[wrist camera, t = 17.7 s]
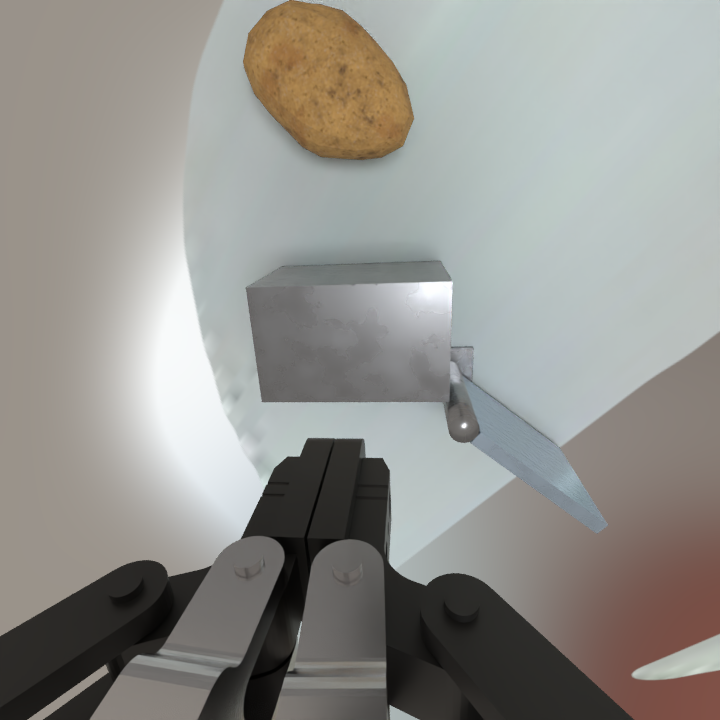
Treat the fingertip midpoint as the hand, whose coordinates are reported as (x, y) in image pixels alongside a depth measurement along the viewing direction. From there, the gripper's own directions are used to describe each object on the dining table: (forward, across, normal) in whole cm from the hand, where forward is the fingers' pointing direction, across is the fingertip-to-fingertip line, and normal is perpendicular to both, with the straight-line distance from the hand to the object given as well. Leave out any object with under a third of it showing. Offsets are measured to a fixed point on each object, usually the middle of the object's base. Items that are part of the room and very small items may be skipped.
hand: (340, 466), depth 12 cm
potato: (+35, -4, +14) cm, 38 cm away
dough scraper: (+33, +11, -16) cm, 38 cm away
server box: (+34, -1, -7) cm, 35 cm away
